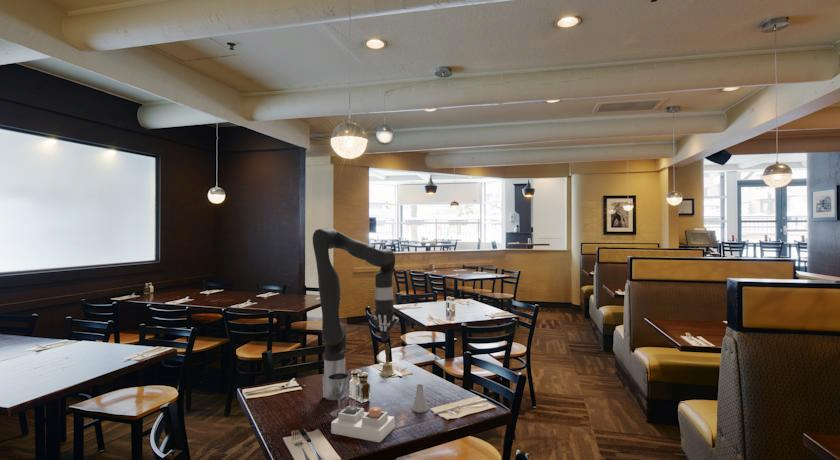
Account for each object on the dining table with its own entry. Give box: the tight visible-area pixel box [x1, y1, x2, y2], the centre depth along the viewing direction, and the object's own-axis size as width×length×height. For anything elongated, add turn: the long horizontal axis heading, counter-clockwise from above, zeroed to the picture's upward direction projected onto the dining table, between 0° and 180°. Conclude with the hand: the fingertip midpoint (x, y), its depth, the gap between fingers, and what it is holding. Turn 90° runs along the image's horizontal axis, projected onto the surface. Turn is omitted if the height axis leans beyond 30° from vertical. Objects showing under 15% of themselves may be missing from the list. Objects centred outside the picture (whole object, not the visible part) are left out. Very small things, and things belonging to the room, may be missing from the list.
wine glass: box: [329, 372, 349, 418], centre depth 175 cm, size 8×8×15 cm
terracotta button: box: [368, 406, 382, 419], centre depth 157 cm, size 4×4×3 cm
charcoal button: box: [344, 405, 358, 415], centre depth 161 cm, size 4×4×3 cm
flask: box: [411, 383, 429, 414], centre depth 176 cm, size 7×7×10 cm
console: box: [330, 405, 396, 443], centre depth 159 cm, size 20×12×6 cm, turn 68°
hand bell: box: [379, 342, 395, 378], centre depth 220 cm, size 8×8×16 cm
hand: (384, 339), depth 176 cm, fingers closed
